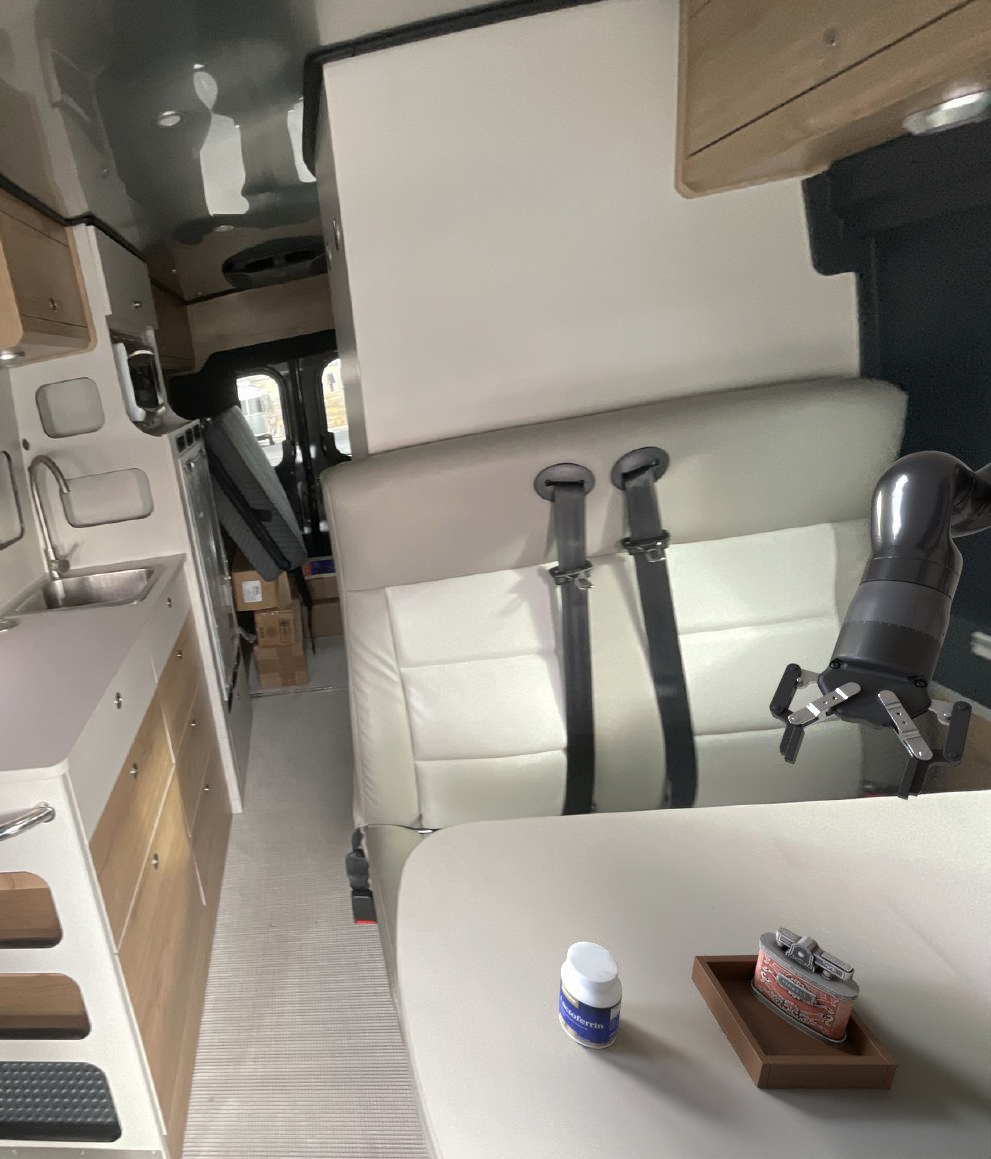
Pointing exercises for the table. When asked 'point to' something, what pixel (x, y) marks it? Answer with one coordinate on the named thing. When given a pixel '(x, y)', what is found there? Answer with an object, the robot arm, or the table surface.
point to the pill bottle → (590, 995)
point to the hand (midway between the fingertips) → (843, 778)
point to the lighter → (805, 985)
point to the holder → (786, 1035)
